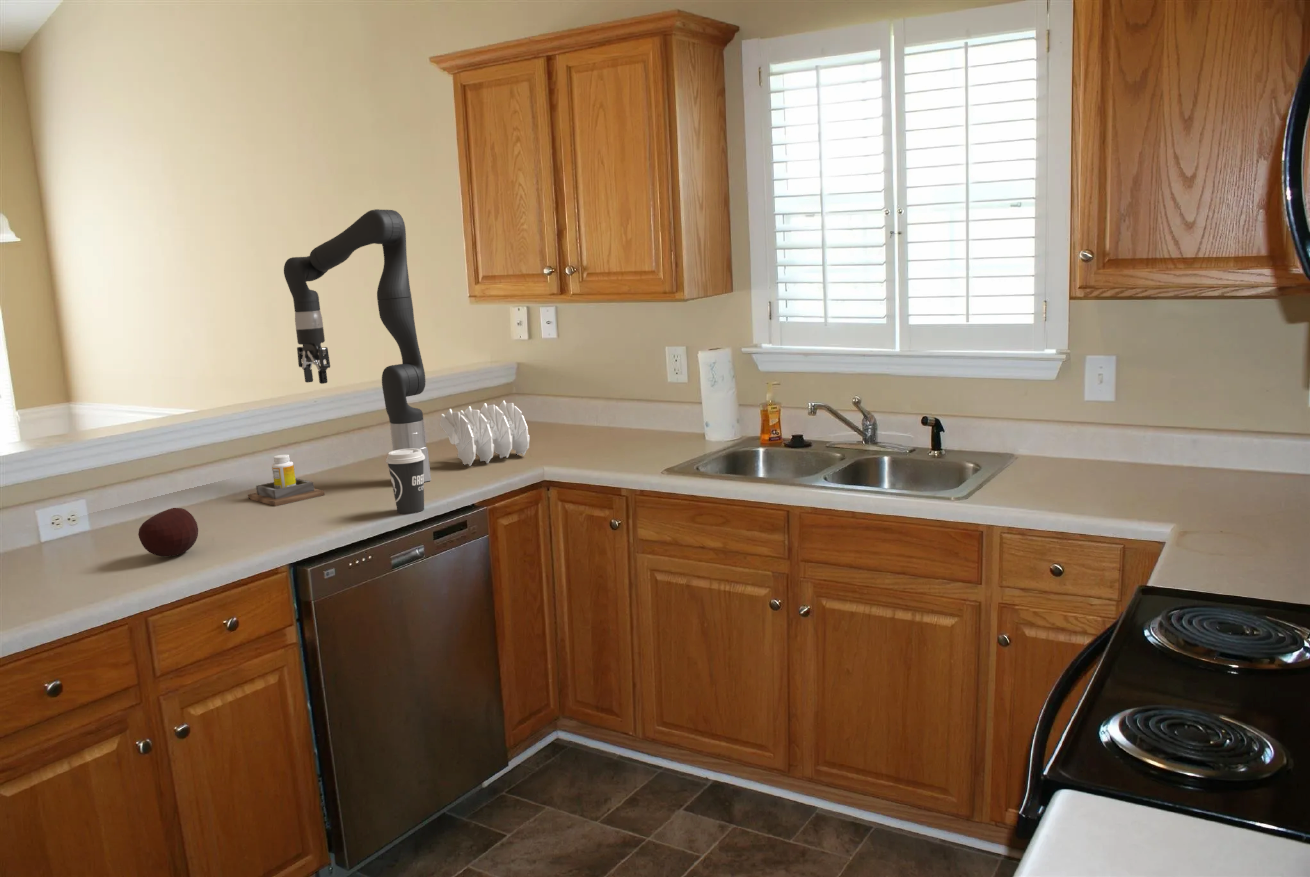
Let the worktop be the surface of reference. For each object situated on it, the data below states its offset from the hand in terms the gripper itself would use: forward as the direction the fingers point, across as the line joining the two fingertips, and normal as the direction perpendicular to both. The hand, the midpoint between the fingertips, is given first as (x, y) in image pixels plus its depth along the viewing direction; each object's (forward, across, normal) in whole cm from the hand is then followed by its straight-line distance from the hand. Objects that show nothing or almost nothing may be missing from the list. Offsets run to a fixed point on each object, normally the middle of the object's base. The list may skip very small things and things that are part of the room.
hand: (316, 382), depth 302 cm
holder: (+28, -14, +20) cm, 37 cm away
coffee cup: (+28, -60, +10) cm, 67 cm away
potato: (+28, -47, +63) cm, 84 cm away
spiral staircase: (+28, -27, -40) cm, 56 cm away
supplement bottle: (+27, -14, +20) cm, 36 cm away
